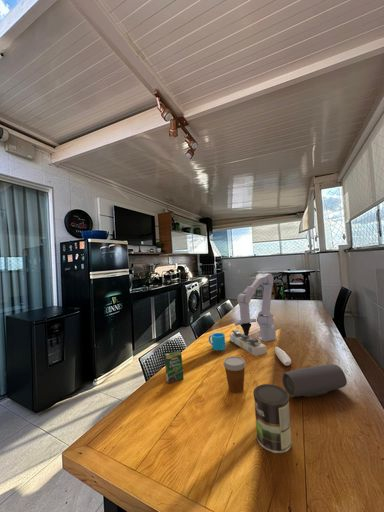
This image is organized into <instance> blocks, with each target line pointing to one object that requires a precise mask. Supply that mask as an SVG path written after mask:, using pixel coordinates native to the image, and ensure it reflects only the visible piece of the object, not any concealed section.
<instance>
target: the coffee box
mask: <svg viewBox="0 0 384 512" xmlns="http://www.w3.org/2000/svg"><path fill="white" fill-rule="evenodd" d="M164 366H165V378H166V382H167V384H168V385H169V384H171V383H175V382H178V381H181V380H184V369H183V357H182V351H181V350H175V351H172V352H169V353H164Z"/></svg>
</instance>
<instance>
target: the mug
mask: <svg viewBox="0 0 384 512" xmlns="http://www.w3.org/2000/svg"><path fill="white" fill-rule="evenodd" d="M208 342H209V345H211V347H212V349H213V350H214V351H218V350H219V351H218V352H220V350H221V351H224V350H226V336H225V333H222V332H215V333H212V334H210V335H209V337H208Z"/></svg>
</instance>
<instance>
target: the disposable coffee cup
mask: <svg viewBox="0 0 384 512" xmlns="http://www.w3.org/2000/svg"><path fill="white" fill-rule="evenodd" d="M222 364H223V367H224V369H225V375H226V376H225V377H226V381H227V386H228V390H229V391H230V392H231V393H235V394H239V393H242V392H244V388H245V385H244V384H245V372H246V371H245V370H246V369H245V367H246V361H245V359H244V358H242V357H240V356H234V355H233V356H228V357H226V358H224V360H223V363H222Z"/></svg>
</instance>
